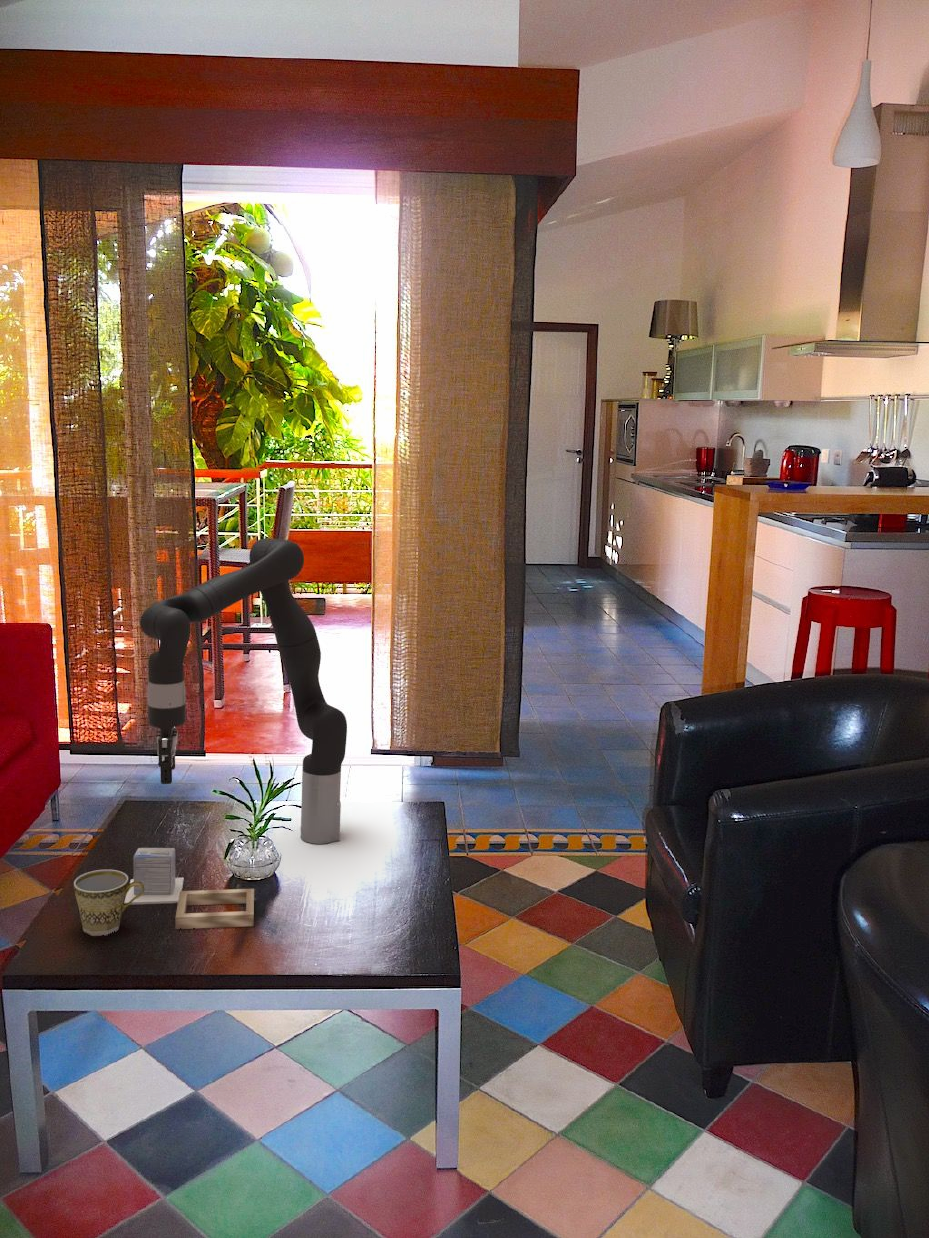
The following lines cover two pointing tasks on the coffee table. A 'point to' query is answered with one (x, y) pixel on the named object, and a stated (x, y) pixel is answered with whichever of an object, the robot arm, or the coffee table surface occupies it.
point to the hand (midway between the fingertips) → (168, 776)
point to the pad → (155, 895)
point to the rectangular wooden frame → (215, 918)
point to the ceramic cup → (102, 900)
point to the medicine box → (154, 870)
